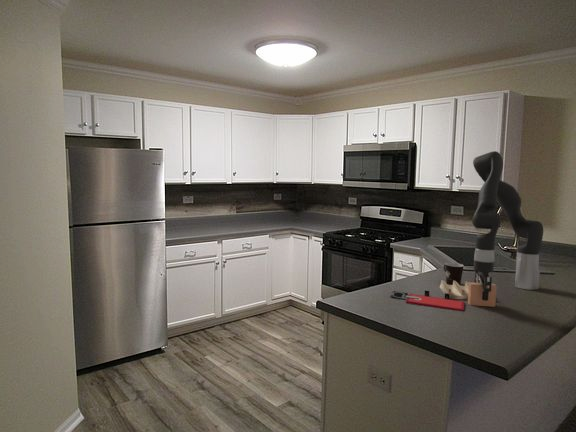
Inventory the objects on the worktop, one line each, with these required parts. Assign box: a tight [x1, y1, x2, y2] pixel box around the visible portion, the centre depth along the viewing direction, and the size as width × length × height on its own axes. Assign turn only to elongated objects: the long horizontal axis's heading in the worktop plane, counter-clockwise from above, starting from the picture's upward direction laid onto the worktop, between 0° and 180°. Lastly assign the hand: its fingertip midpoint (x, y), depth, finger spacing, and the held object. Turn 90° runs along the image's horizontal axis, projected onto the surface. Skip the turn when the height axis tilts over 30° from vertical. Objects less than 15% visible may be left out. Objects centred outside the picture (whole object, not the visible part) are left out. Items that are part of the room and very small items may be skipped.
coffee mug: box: [443, 262, 465, 286], centre depth 198 cm, size 12×9×10 cm
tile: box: [467, 281, 497, 308], centre depth 165 cm, size 10×3×9 cm, turn 80°
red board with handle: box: [390, 290, 465, 312], centre depth 170 cm, size 30×3×15 cm
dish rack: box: [439, 279, 469, 301], centre depth 181 cm, size 18×18×4 cm
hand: (481, 297), depth 166 cm, fingers open, 8 cm apart
